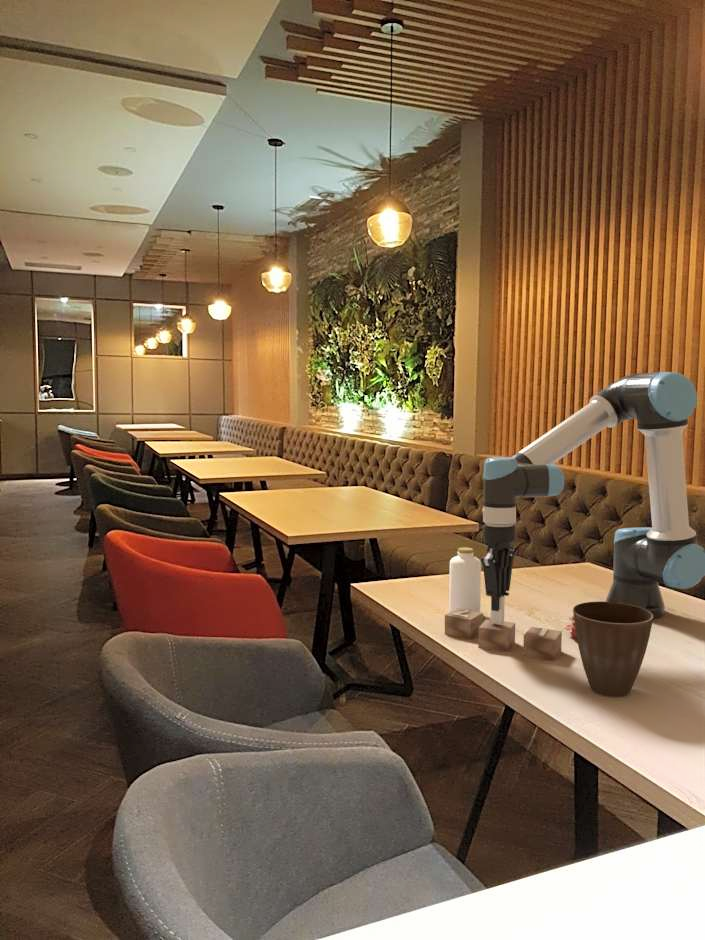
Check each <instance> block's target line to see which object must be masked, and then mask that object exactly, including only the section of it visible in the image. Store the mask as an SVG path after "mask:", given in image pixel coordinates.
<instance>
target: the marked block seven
mask: <svg viewBox="0 0 705 940" xmlns="http://www.w3.org/2000/svg"><path fill="white" fill-rule="evenodd" d="M483 622H484V613H483V612H481V611H480V612H475V611H470V610H464V609H458V608H457V609H455V610H453V611H452V612H447V613H446V614H444V635H447V636H452V637H458V638H462V639H466V640H472V639H473V638H475V637H476V636H479V627H480V625H481V624H482V623H483Z"/></svg>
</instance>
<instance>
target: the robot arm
mask: <svg viewBox="0 0 705 940" xmlns="http://www.w3.org/2000/svg"><path fill="white" fill-rule="evenodd" d="M697 394H698V393H697V391H696V388H695V385H694V384H693V382H692V381H691V380H690V379H689V378H688V377H686V375H684V374H682V373H680V372H673V371H672V372H671V371H658V372H657V371H656V372H645V373H642V372H641V373H639V372H638V373H632V374H629V375H625V376H623V377H621V378H619V379H617V380H616V381H614V382H612V383H610V384H609V385H607V386H606V387H605V388H603V389H601V390H600V391H599V392H597V393H596V394H594V395H592V396H591V397H590V398H589V402H588V404H586V405H584V406H583V407H582V408H580V409H579V410H578V411H576V412H575V413H573V414H571V415H570V416H569V417H568V418H566V419H565V420H563V421H562V422H560V423H559V424H557V425H556V426H554V427H553V428H551V429H550V430H549V431H547V432H545V433H544V434H543V435H542V436H540V437H539V438H537V439H535V440H534V441H533V442H531V443H530V444H528V445H527V446H526V447H524V448H523V449H521V450H520V451H518V452H516V453H515V454H514V455H512V456H511V457H506V456H505V457H503V456H502V457H500V456H499V457H498V456H496V457H493V456H492V457H488V458H487V459H485V460H484V463H483V474H482V481H483V483H482V485H483V489H482V491H483V492H482V493H483V494H482V502H483V503H482V505H483V506H482V510H481V512H482V522H483V523H484V524H483V525H482V540H483V541H485V542H487V548H486V556H481V559H480V561H481V566H482V568H483V577H484V588H485V589H484V590H485V595H486V596H487V597H490V599H491V600H490V620H491V623H494V624H499V625H502V624H504V622H505V597H508V596H509V595H510V592H509V591H510V588H511V581H512V573H513V571H512V570H513V565H514V558H515V555H516V550H515V549H511V543H513V542H515V541H516V531H517V530H516V526H515V525H514V524H516V522H517V499H521V498H548V497H555V496H559V495H560V494H561V493H562V492H563V490H564V486H565V475H564V471H563V470H562V469H561V468H560V466H558V465H556V464H555V463H557V462H558V461H559V460H561V459H562V458H564V457H566V456H567V455H568V454H569V453H571V452H573V451H574V450H575V449H577V448H578V447H580V446H581V445H582V444H584V443H586V442H587V441H588V440H590V439H591V438H593V437H594V436H595V435H598V433H600V432H601V431H603V430H604V429H606V428H614V427H615V426H617V425H619V424H620V423H622V422H626V421H630V420H634V419H635V420H636V424H637V425H636V426H637V430H638V431H639V432H640V433H641V434H642V435H644V442H645V443H644V444H645V454H646V455H645V456H646V467H647V468H646V469H647V478H648V479H647V480H648V489H649V490H648V493H649V503H650V504H649V505H650V517H651V527H649V526H648V527H644V526H643V527H641V526H640V527H624V528H623V527H622V528H619V529H617V530H616V531H615V533H614V539H613V567H612V568H613V573H612V574H613V578H612V583H611V586H610V587H609V590H608V594H607V596H606V599H605V602H617V603H624V604H630V605H634V606H638V607H641V608H644V609H646V610H648V611H650V612H651V613H652V614H653V619H657V618H660V617H663V616H665V610H666V609H665V608H666V605H665V603H664V599H663V596H662V595H663V594H662V593H661V589H660V586H659V583H660V584H664V585H666V586H668V587H671V588H677V589H684V590H685V589H690V588H693V587H695V586H696V585H697V584H699V583H700V582H701V581H702V578H704V577H705V549H704V547H702V545H699V544H698V540H697V538H698V537H697V531H696V530H694V529H693V528H692V527H691V526H690V523H689V522H690V521H689V520H690V519H689V509H688V508H689V507H688V495H687V482H686V479H687V478H686V468H685V466H686V465H685V455H684V454H685V453H684V443H683V441H684V440H683V431H684V430H685V429H686V428H687V427H688V426H689V419H688V418H690V417H691V416H692V415H693V413H694V412H695V411H694V409H695V410H696V408H697V403H698V395H697Z"/></svg>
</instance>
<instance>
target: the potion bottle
mask: <svg viewBox="0 0 705 940" xmlns="http://www.w3.org/2000/svg"><path fill="white" fill-rule="evenodd" d="M456 553H457V555H456V556H453V557H452V558H451V559H450V560H449V579H448V580H449V584H448V585H449V587H448V588H449V589H448V591H449V593H448V595H449V596H448V597H449V599H448V601H449V602H448V603H449V604H448V605H449V606H448V611H449V612H448V613H450V612H452V611H453V610H455V609H457V608H458V609H464V610H470V611H475V612H481V602H482V601H481V598H482V597H481V595H482V592H481V591H482V589H481V587H482V585H481V584H482V562H481V559H479V558H478V557H476V556H474V548H473V547H472V548H471V547H466V546H465V547H457V552H456Z"/></svg>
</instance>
